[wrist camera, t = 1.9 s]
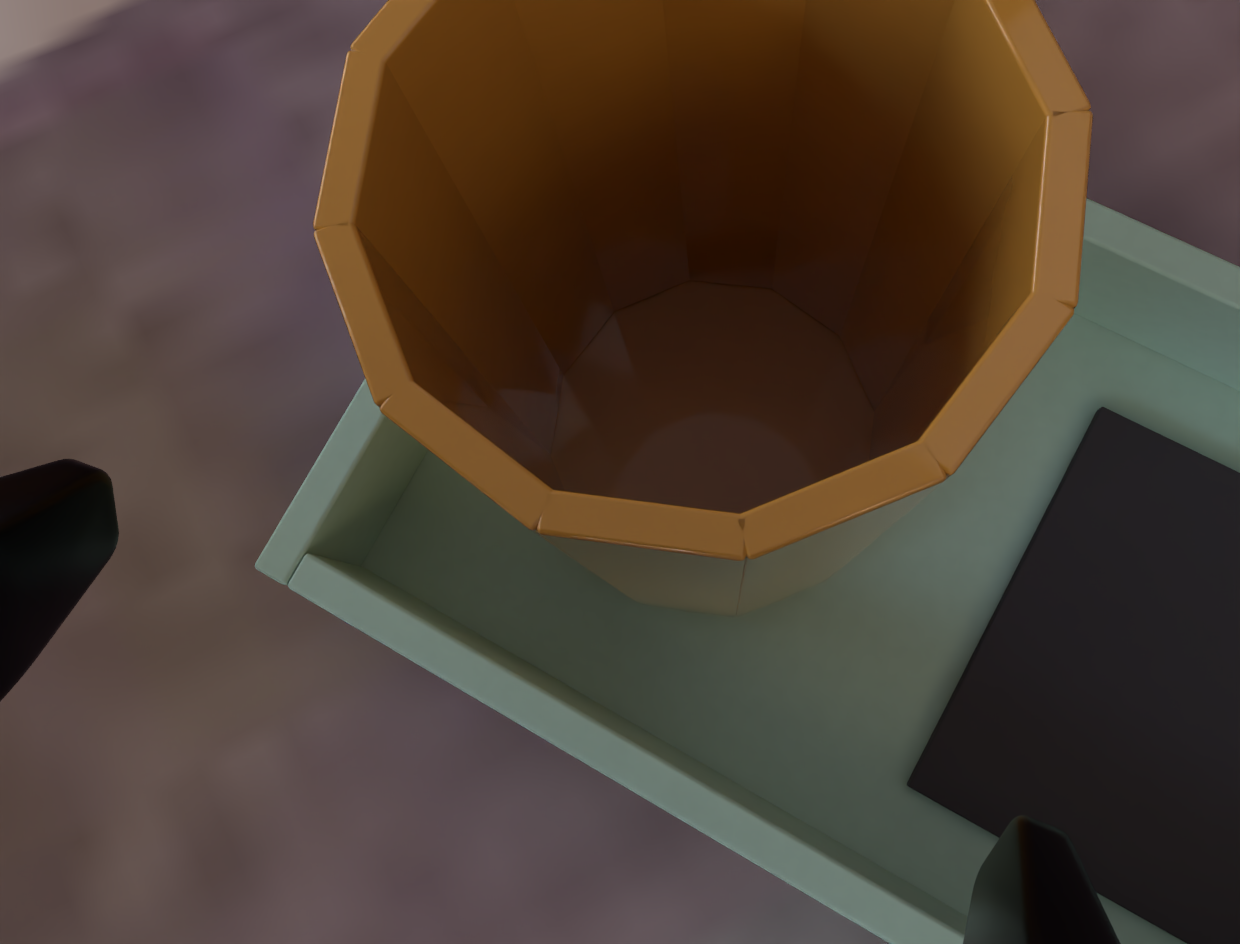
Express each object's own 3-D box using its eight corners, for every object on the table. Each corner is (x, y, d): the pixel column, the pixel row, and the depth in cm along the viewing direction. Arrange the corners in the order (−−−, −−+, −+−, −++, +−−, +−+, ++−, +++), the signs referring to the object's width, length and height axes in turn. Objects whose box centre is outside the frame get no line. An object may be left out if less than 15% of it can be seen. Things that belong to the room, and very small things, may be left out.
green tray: (1634, 551, 20) (1823, 527, 17) (1353, 1184, 19) (1495, 1302, 15) (619, 77, 24) (601, -23, 20) (324, 581, 22) (251, 566, 19)
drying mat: (1518, 613, 20) (1530, 612, 19) (1331, 1024, 19) (1341, 1030, 18) (1096, 409, 21) (1102, 405, 21) (905, 785, 20) (908, 786, 20)
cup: (867, 637, 21) (1056, 603, 9) (516, 588, 21) (256, 495, 10) (904, 293, 22) (1116, -148, 10) (567, 259, 22) (391, -187, 11)
